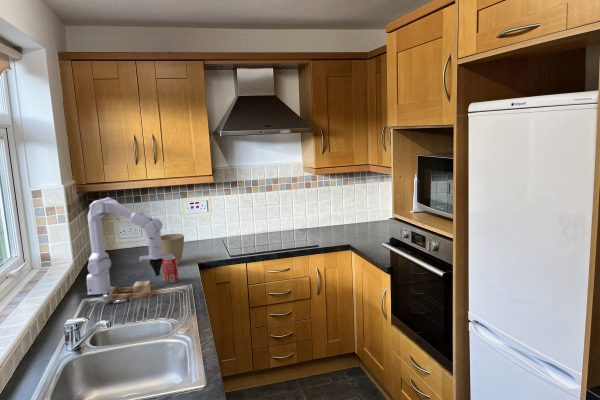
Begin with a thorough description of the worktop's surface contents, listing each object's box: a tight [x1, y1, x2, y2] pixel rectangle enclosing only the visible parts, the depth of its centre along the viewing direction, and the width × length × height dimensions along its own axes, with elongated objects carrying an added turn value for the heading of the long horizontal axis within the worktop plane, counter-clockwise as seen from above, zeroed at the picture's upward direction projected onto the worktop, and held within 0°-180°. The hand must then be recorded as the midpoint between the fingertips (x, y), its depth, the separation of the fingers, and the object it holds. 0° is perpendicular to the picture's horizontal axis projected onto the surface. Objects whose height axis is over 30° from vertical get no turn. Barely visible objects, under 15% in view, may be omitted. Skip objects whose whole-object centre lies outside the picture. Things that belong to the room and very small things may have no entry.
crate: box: [132, 280, 152, 293], centre depth 206 cm, size 6×6×5 cm
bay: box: [109, 284, 157, 301], centre depth 206 cm, size 18×10×3 cm, turn 95°
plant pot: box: [161, 233, 185, 266], centre depth 249 cm, size 15×15×16 cm
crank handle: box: [113, 295, 131, 305], centre depth 197 cm, size 7×1×2 cm, turn 115°
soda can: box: [161, 256, 179, 284], centre depth 221 cm, size 7×7×12 cm
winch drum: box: [102, 291, 114, 305], centre depth 197 cm, size 4×4×5 cm
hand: (157, 275), depth 206 cm, fingers closed
